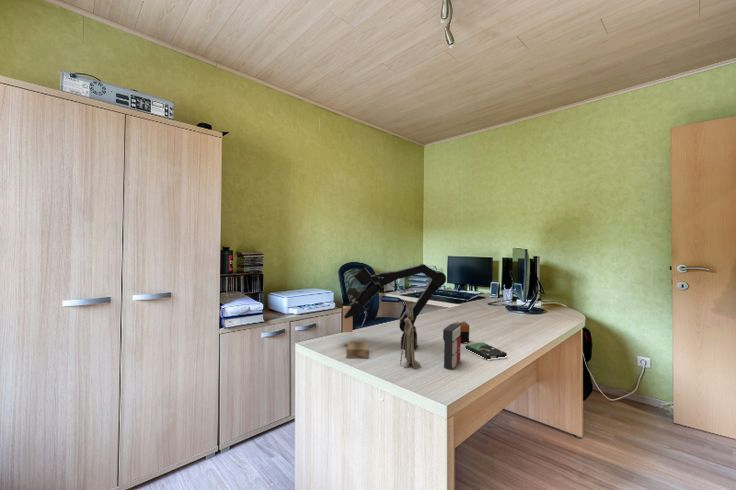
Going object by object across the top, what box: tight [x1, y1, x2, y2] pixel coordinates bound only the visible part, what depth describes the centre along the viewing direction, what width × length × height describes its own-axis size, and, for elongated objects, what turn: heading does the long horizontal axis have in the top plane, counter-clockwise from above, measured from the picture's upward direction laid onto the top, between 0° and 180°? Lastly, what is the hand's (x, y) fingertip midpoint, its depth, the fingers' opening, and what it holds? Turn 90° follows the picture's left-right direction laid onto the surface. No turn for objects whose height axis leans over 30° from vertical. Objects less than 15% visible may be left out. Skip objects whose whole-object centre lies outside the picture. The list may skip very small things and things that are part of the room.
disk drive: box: [464, 342, 508, 359], centre depth 136 cm, size 10×3×15 cm
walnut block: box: [346, 341, 370, 360], centre depth 131 cm, size 9×9×4 cm
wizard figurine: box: [399, 300, 422, 370], centre depth 121 cm, size 10×8×25 cm
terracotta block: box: [342, 305, 354, 333], centre depth 142 cm, size 4×4×11 cm
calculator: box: [442, 323, 462, 370], centre depth 122 cm, size 11×4×15 cm, turn 148°
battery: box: [452, 320, 470, 344], centre depth 151 cm, size 4×7×10 cm, turn 100°
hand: (344, 316), depth 142 cm, fingers closed on terracotta block, 4 cm apart
